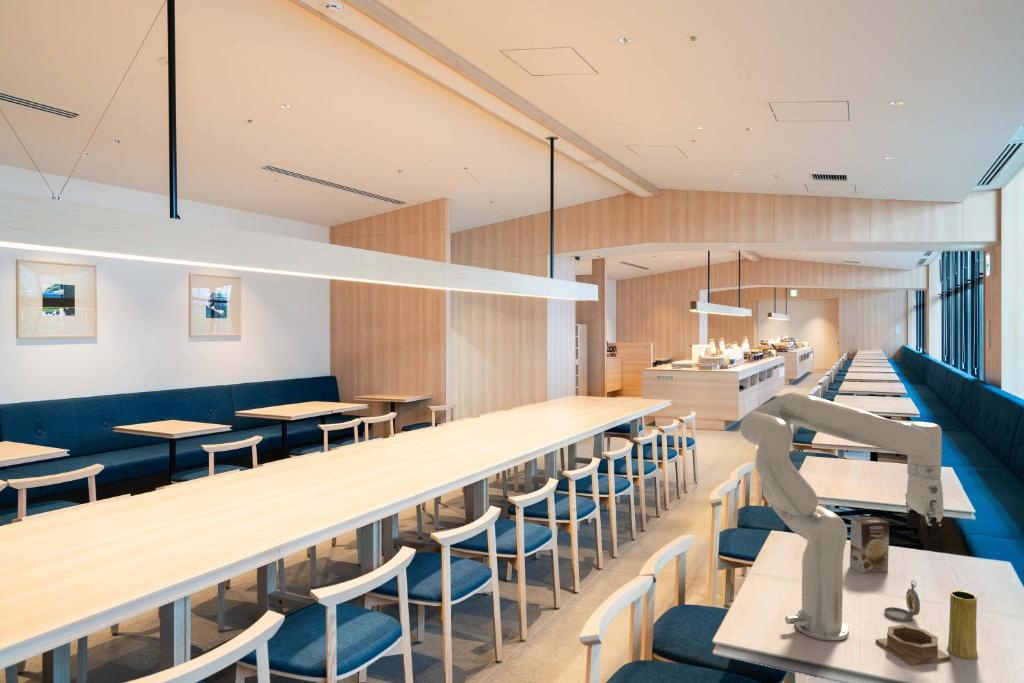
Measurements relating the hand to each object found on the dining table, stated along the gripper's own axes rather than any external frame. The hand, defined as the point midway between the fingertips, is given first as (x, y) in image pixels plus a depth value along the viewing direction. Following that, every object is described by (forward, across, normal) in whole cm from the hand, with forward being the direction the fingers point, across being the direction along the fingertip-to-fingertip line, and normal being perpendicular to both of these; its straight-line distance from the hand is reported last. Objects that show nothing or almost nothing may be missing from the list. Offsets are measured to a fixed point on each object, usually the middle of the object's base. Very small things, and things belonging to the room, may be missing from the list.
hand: (922, 534), depth 174 cm
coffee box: (+24, +36, -1) cm, 43 cm away
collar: (+24, -16, +10) cm, 30 cm away
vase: (+24, -16, -2) cm, 29 cm away
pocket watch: (+24, +3, +3) cm, 24 cm away
